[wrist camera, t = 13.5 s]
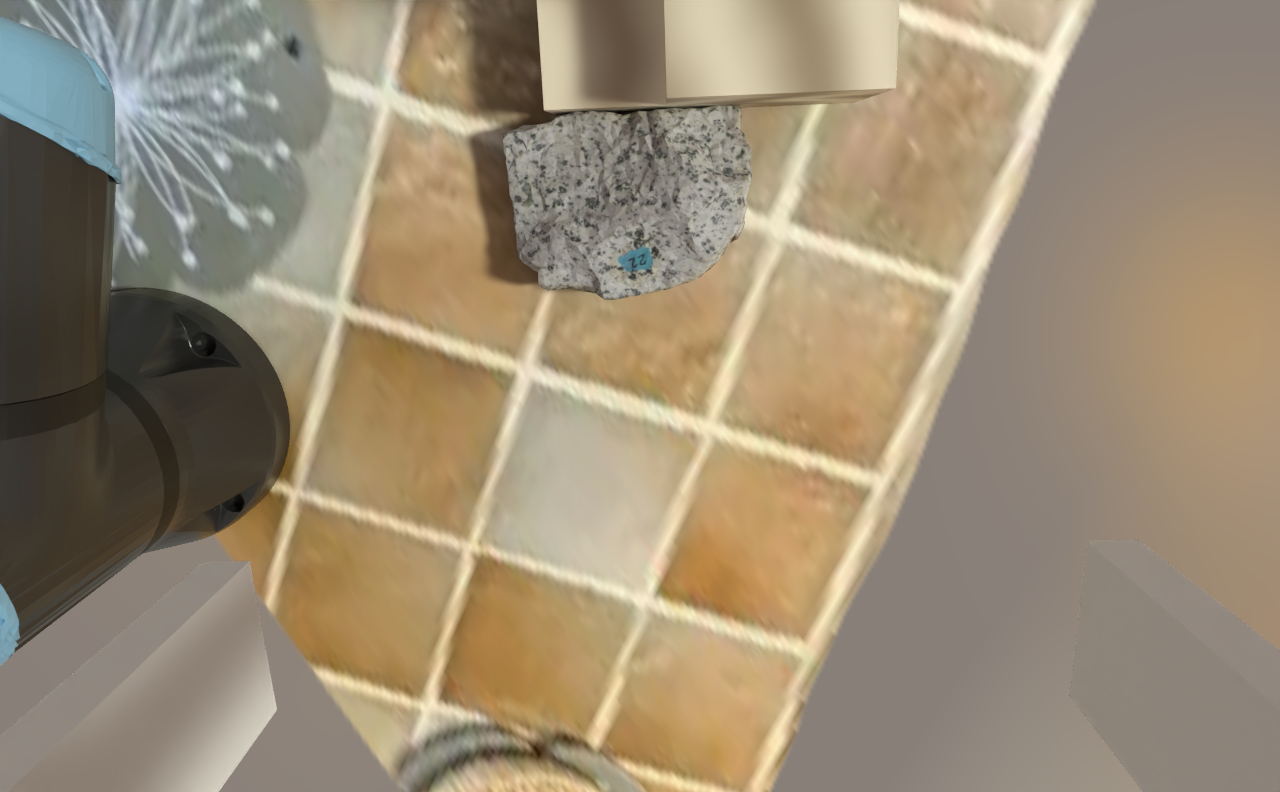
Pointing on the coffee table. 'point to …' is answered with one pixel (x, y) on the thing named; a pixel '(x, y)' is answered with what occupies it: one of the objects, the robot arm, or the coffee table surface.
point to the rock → (628, 197)
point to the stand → (714, 53)
